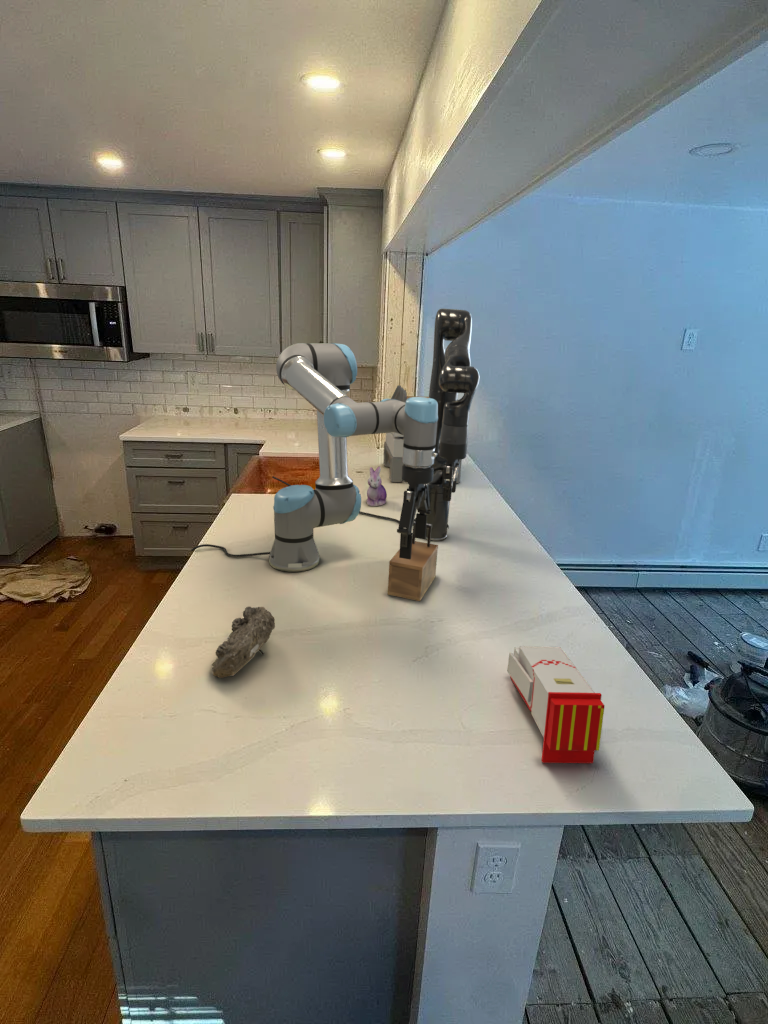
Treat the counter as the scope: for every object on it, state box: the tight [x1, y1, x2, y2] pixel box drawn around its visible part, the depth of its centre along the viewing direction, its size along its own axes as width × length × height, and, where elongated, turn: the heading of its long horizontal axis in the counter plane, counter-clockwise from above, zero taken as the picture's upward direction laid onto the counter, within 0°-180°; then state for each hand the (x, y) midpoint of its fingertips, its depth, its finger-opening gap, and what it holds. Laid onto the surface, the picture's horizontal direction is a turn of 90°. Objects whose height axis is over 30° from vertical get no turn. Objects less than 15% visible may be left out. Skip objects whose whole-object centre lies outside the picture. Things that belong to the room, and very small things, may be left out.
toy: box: [506, 645, 605, 764], centre depth 112 cm, size 12×13×30 cm
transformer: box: [383, 384, 463, 484], centre depth 268 cm, size 34×33×41 cm
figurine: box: [366, 466, 388, 507], centre depth 227 cm, size 9×10×15 cm
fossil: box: [211, 606, 276, 679], centre depth 126 cm, size 22×10×15 cm
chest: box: [387, 550, 438, 602], centre depth 162 cm, size 16×9×9 cm, turn 160°
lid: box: [388, 521, 439, 571], centre depth 159 cm, size 17×9×8 cm, turn 160°
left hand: (412, 547), depth 141 cm, fingers open, 13 cm apart
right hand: (449, 496), depth 161 cm, fingers open, 8 cm apart
